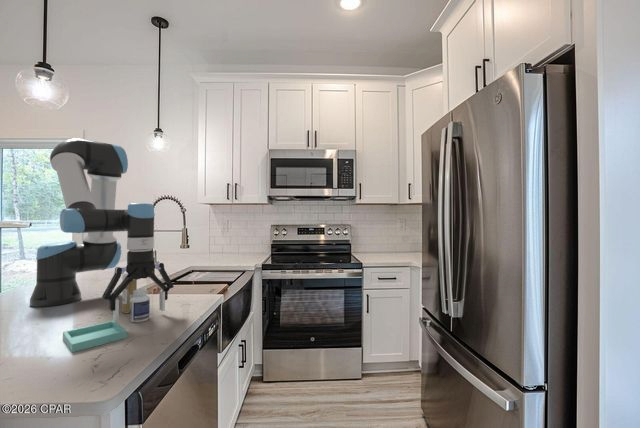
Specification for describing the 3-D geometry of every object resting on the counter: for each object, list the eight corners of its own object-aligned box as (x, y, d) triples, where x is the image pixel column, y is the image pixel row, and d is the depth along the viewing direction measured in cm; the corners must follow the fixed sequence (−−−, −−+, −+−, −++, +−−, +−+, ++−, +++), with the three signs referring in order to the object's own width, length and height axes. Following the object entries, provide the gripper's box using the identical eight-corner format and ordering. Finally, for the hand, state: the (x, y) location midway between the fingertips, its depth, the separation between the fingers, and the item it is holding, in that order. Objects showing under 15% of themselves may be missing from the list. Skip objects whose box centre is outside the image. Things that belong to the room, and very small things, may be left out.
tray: (62, 339, 82) (62, 331, 82) (113, 326, 91) (114, 320, 91) (71, 352, 74) (71, 344, 74) (126, 337, 83) (126, 330, 83)
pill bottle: (153, 318, 99) (153, 288, 99) (138, 323, 94) (139, 292, 94) (141, 316, 101) (141, 287, 101) (126, 321, 96) (126, 291, 96)
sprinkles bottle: (137, 312, 105) (137, 274, 105) (121, 314, 102) (122, 275, 102) (136, 308, 109) (137, 272, 109) (121, 310, 106) (122, 273, 106)
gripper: (97, 254, 85) (96, 328, 85) (183, 248, 104) (183, 308, 104) (90, 252, 90) (90, 322, 90) (174, 246, 109) (174, 304, 109)
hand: (140, 315), depth 97 cm, fingers open, 13 cm apart
